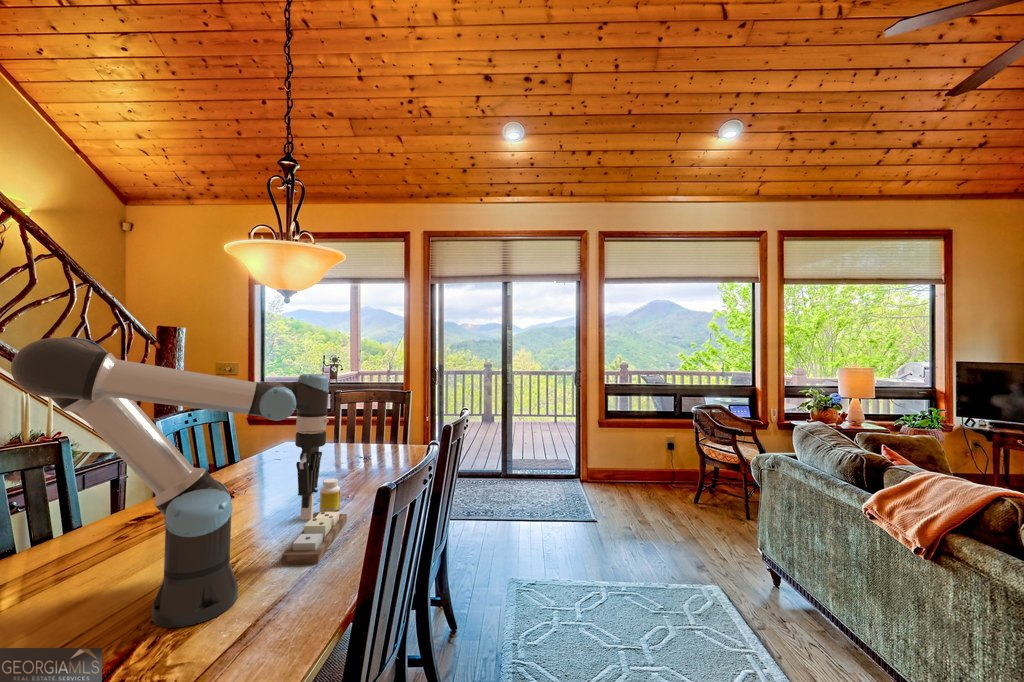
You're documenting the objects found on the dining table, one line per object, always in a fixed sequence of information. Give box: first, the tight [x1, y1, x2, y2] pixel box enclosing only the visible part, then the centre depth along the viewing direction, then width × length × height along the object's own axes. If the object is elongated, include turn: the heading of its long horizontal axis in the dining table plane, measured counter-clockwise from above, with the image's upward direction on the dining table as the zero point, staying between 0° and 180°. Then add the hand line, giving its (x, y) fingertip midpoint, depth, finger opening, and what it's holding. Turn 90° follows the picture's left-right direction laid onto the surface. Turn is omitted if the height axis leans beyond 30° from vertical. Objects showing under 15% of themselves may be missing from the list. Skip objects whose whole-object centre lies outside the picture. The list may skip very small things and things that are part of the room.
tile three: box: [314, 511, 340, 525], centre depth 135 cm, size 6×6×3 cm
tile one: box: [292, 533, 323, 551], centre depth 119 cm, size 6×6×3 cm
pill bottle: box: [319, 478, 341, 513], centre depth 148 cm, size 6×6×11 cm
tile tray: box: [281, 513, 348, 565], centre depth 127 cm, size 27×9×2 cm, turn 6°
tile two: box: [303, 517, 332, 537], centre depth 127 cm, size 6×6×3 cm
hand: (306, 518), depth 119 cm, fingers closed
